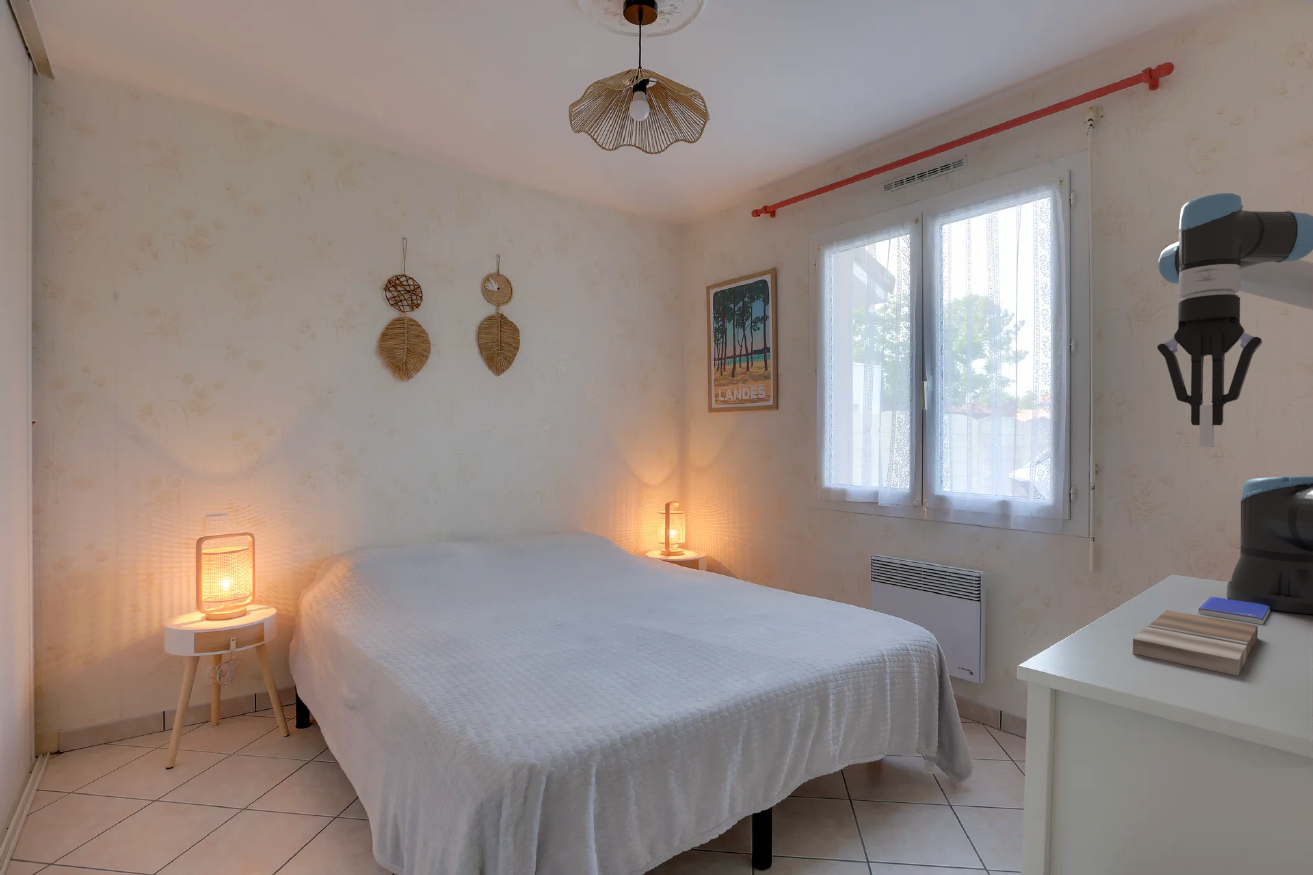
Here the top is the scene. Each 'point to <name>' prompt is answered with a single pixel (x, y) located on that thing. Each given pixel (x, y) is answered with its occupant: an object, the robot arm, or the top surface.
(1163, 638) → the grey oak plank
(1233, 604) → the hard drive
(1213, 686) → the top surface
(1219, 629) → the walnut plank
